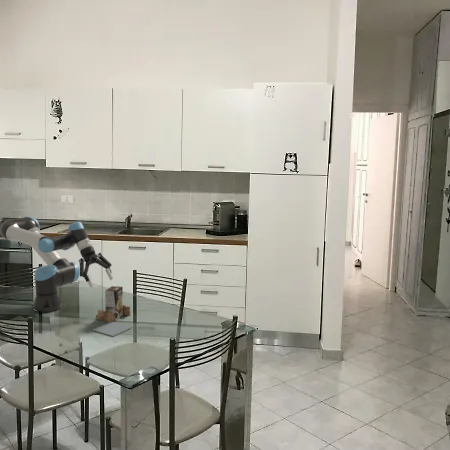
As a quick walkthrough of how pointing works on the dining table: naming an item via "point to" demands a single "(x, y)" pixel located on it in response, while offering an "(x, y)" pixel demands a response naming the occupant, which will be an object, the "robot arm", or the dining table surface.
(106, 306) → the coffee box
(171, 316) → the dining table surface
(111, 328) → the rubber mat
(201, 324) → the dining table surface
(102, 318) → the slot rack
